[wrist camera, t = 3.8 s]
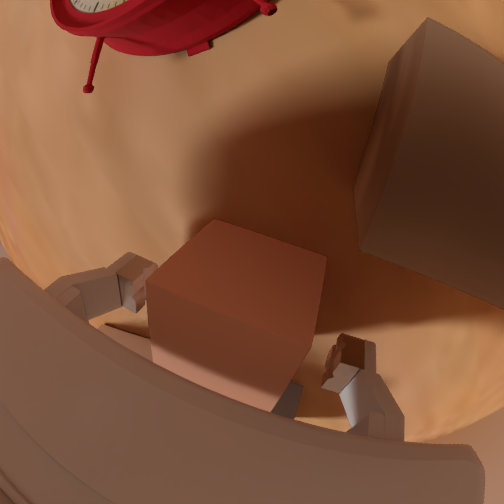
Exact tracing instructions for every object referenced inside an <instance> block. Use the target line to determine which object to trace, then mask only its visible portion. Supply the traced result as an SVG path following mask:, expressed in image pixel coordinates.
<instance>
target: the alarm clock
mask: <svg viewBox="0 0 504 504" xmlns="http://www.w3.org/2000/svg"><path fill="white" fill-rule="evenodd" d="M268 1H269V0H50V8H51V14H52V17H53V19H54V21H55V23H56V24H57V25H58V26H59V27H60V28H62V29H63V30H66V31H68V32H69V33H71V34H74V35H78V36H95V37H97V40H96V43H95V47H94V51H93V55H92V59H91V66H90V71H89V76H88V81H87V84H86V85H85V86H84V88H83V92H84V93H92V91H93V90H94V86H93V85H92V81H93V77H94V73H95V69H96V65H97V63H98V59H99V55H100V52H101V48H102V45H103V42H105V43H106V44H107V45H108V46H110V47H111V48H113V49H115V50H117V51H119V52H122V53H126V54H131V55H138V56H159V55H166V54H171V53H175V52H179V51H183V50H186V49H187V52H188V56H192V55H195V54H198V53H200V52H203V51H206V50H209V49H211V48H209V44H208V41H209V40H211V39H213V38H215V37H217V36H219V35H221V34H222V33H224V32H226V31H228V30H230V29H231V28H233V27H234V26H236V25H238V24H239V23H241V22H242V21H244V20H245V19H247V18H248V17H249V16H251V15H252V14H253V13H255V12H256V11H257V10H258V9H260V12H261V13H263V14H264V15H268V16H271V15H273V14H274V13H276V11H277V6H276V5H275V4H274V3H272V2H268Z"/></svg>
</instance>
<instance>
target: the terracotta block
mask: <svg viewBox="0 0 504 504" xmlns="http://www.w3.org/2000/svg"><path fill="white" fill-rule="evenodd" d="M326 263H327V257H326V256H323V255H320V254H318V253H315V252H312V251H309V250H306V249H303V248H300V247H297V246H295V245H292V244H289V243H286V242H283V241H280V240H277V239H274V238H271V237H268V236H265V235H262V234H259V233H256V232H253V231H250V230H247V229H244V228H241V227H238V226H235V225H232V224H229V223H226V222H223V221H220V220H217V219H213V220H212V221H211V222H210V223H209V224H207V225H206V226H205V227H204V228H203V229H202V230H200V231H199V232H198V233H197V234H196V235H195V236H194V237H192V238H191V239H190V240H189V241H188V242H187V243H186V244H185V245H183V246H182V247H181V248H180V249H179V250H178V251H177V252H176V253H174V254H173V255H172V256H171V257H170V258H169V259H168V260H167V261H166V262H164V263H163V264H162V265H161V266H160V267H159V268H158V269H157V270H156V271H155V272H154V273H153V274H151V275H150V276H149V277H148V278H147V279H146V280H145V286H146V301H147V313H148V324H149V334H150V342H151V350H152V358H153V362H154V363H156V364H157V365H159V366H161V367H163V368H165V369H167V370H169V371H171V372H173V373H175V374H177V375H179V376H181V377H183V378H185V379H188V380H190V381H192V382H194V383H196V384H198V385H201V386H203V387H205V388H208V389H210V390H212V391H215V392H217V393H219V394H222V395H224V396H227V397H229V398H232V399H234V400H237V401H240V402H242V403H245V404H248V405H251V406H253V407H256V408H259V409H262V410H265V411H268V412H271V410H272V409H273V408H274V406H275V405H276V403H277V402H278V400H279V398H280V397H281V395H282V394H283V392H284V391H285V389H286V388H287V386H288V384H289V383H290V381H291V380H292V378H293V376H294V375H295V373H296V372H297V370H298V368H299V367H300V365H301V363H302V362H303V360H304V358H305V357H306V355H307V353H308V351H309V350H310V348H311V346H312V341H313V337H314V332H315V327H316V322H317V316H318V311H319V305H320V300H321V294H322V288H323V282H324V276H325V269H326Z"/></svg>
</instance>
